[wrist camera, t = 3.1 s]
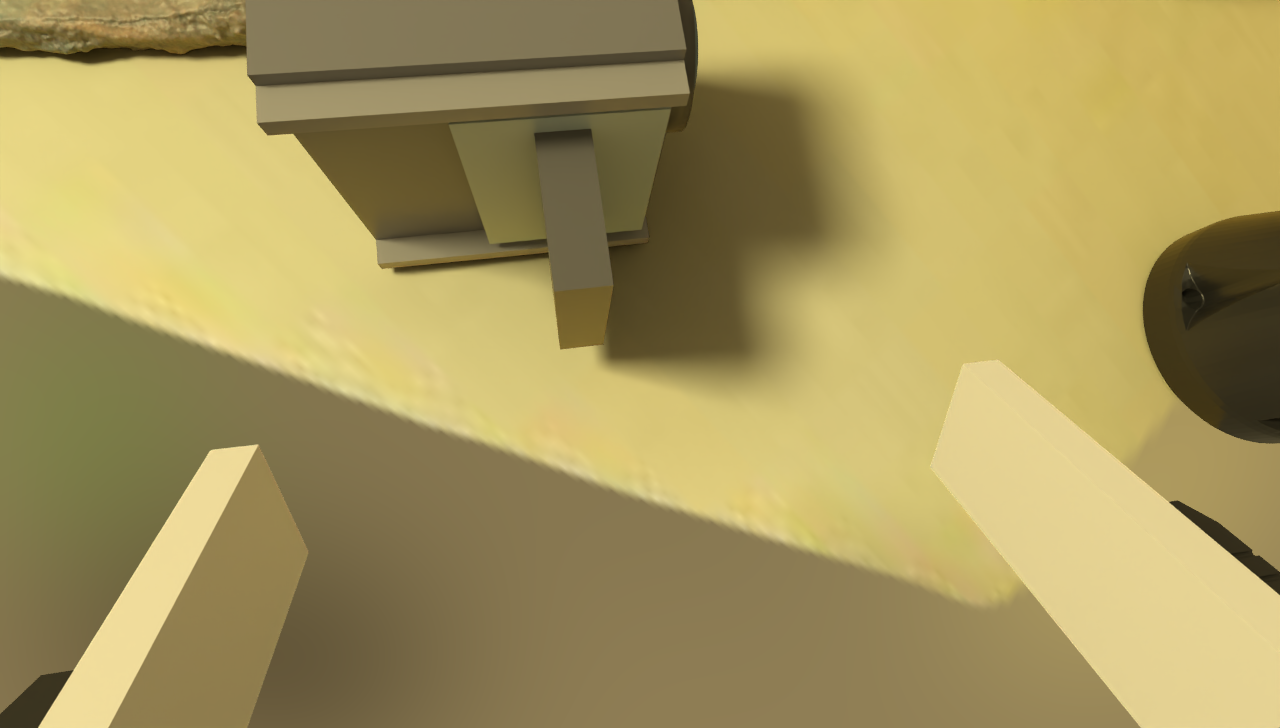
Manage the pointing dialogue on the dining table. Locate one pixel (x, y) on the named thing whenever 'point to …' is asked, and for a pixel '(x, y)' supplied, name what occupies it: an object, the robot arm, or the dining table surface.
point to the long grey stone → (121, 24)
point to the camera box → (453, 96)
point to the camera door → (566, 196)
